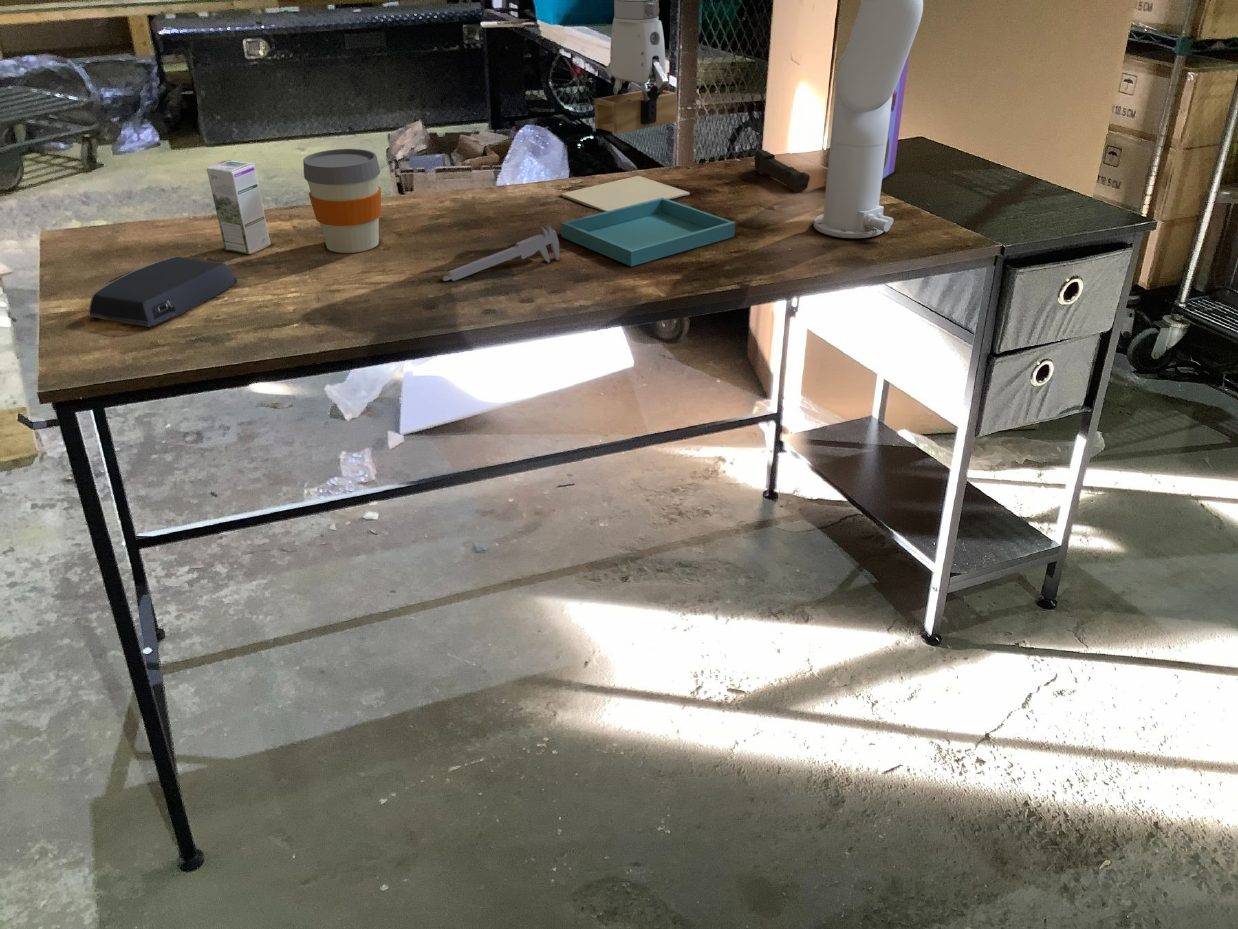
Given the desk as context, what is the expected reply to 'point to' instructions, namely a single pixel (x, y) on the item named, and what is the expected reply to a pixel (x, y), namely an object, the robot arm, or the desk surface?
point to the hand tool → (780, 171)
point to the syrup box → (239, 206)
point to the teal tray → (647, 231)
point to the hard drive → (160, 291)
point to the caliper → (512, 254)
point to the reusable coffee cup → (345, 197)
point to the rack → (632, 111)
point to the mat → (623, 193)
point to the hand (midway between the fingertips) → (636, 119)
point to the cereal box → (894, 123)
